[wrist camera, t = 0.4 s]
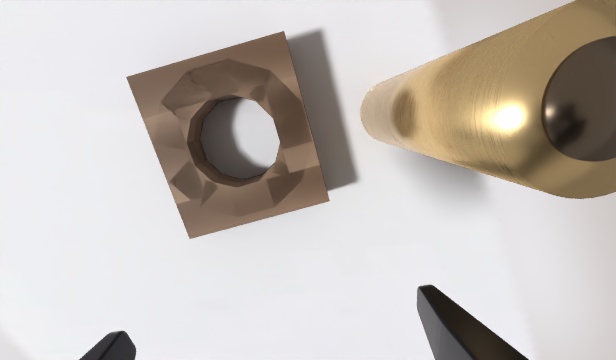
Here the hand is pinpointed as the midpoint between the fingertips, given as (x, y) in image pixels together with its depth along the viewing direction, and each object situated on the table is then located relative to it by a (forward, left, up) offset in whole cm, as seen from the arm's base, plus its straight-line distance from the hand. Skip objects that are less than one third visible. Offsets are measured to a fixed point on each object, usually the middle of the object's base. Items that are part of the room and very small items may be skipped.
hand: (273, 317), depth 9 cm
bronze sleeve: (+4, -9, -14) cm, 17 cm away
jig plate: (+5, +2, -14) cm, 15 cm away
